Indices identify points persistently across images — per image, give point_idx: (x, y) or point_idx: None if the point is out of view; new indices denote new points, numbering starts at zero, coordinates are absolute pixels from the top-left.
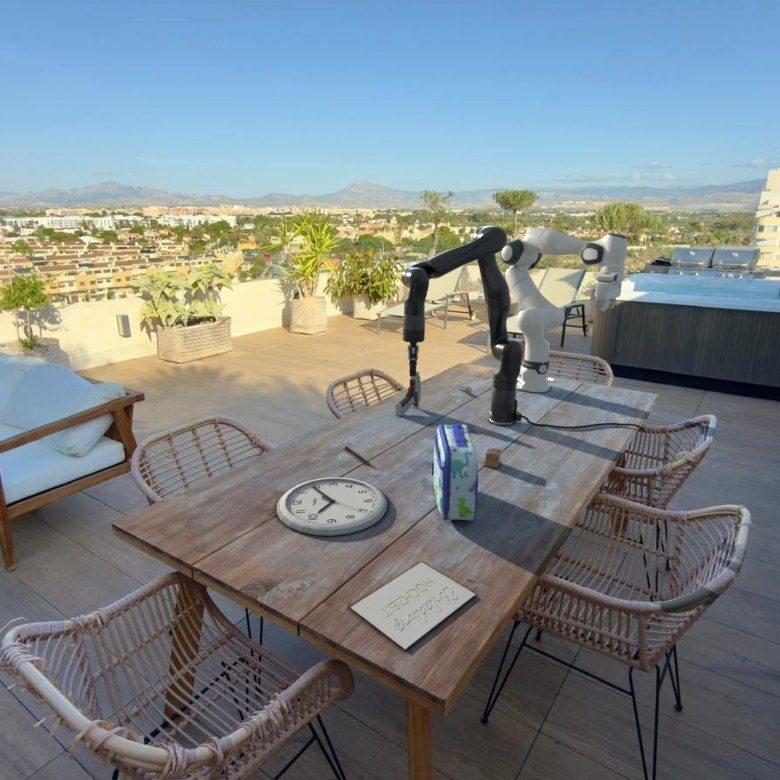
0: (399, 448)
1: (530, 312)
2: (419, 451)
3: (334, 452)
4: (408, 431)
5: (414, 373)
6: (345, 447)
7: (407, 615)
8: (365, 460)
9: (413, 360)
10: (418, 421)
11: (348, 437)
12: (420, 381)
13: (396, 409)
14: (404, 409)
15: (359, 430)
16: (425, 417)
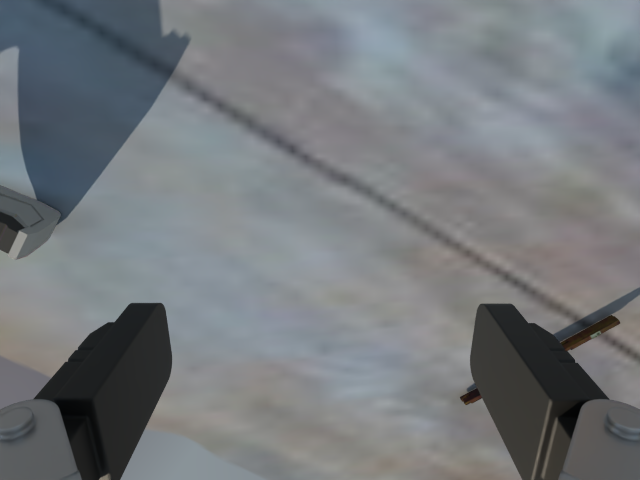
0: (460, 208)
1: None
2: (497, 118)
3: (487, 424)
4: (257, 171)
5: (553, 342)
6: (467, 402)
7: None
8: (603, 331)
9: (107, 430)
10: (108, 119)
11: (349, 398)
12: None
13: (38, 245)
14: (13, 202)
15: (273, 369)
16: (35, 78)
